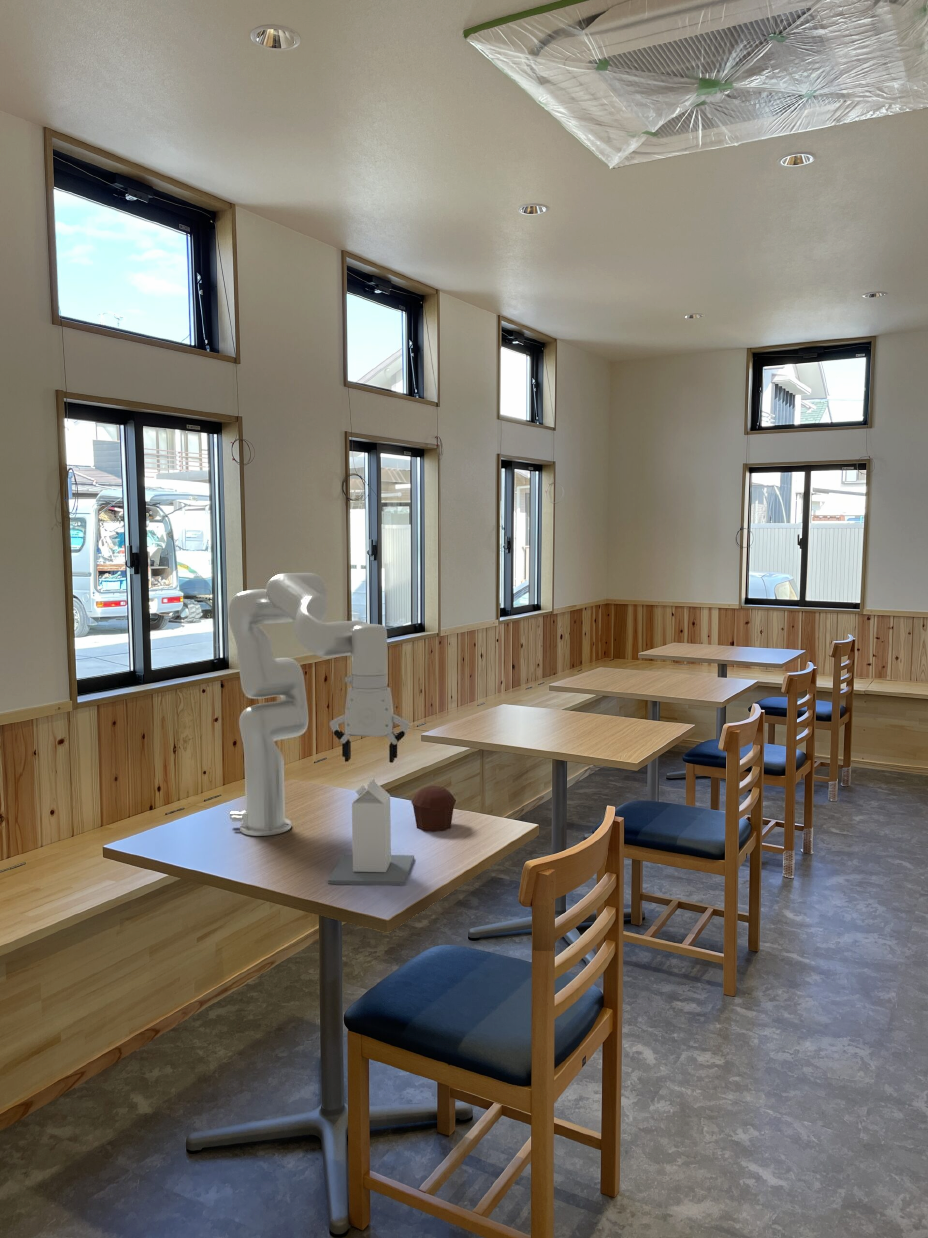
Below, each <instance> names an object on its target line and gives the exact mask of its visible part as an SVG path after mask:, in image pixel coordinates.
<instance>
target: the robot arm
mask: <svg viewBox="0 0 928 1238" xmlns="http://www.w3.org/2000/svg"><path fill="white" fill-rule="evenodd" d="M327 591H328V590H327V585H326V583H325V581H324V579H323V578H322V577H321V576H320V575H318V574H316V573H314V572H288V573H287V572H285V573H279V574H276V575H275V576H273V577H272V578H270V579H269V580H268V581H267V584H266V586H265V589H264V588H263V589H261V588H259V589H248V590H244V591H241V592H238V593H236V594H235V595H234V596H233V597H232V599H231V600H230V603H229V604H228V611H227V613H228V615H227V617H228V622H229V626H230V629H231V633H232V636H233V637H234V641H235V646H236V650H237V651H236V652H237V661H238V668H239V669H238V670H239V678H240V685H241V689H242V692H243V694H244V695H245V697H247V698H248V699H264V698H272V697H280V701H278V700H277V701H271V702H270V701H269V702H263V703H258V704H254V705H251V706H249V707H246V708H245V709H243V711H242V712H241V713H240V716H239V720H238V724H239V726H238V727H239V730H240V731H239V732H240V735H241V740H242V747H243V755H244V756H243V759H244V783H245V784H244V785H245V786H244V787H245V788H244V790H245V791H244V792H245V794H244V795H245V810H242V811H240V812H239V811H230V814H229V819H230V820H231V822H240V823H241V824H240V825H239V831H240V832H241V833H242V834H244V835H248V836H253V837H254V836H255V837H266V836H274V835H278V834H282V833H283V834H284V833H286V832H288V831H289V830H290V829H291V828H292V821H291V820H290V819H288V818H286V815H285V814H286V812H285V811H286V809H285V808H286V807H285V767H284V766H285V765H284V763H285V762H284V756H283V754H282V752H281V751H280V749H279V748H278V746H277V745H276V742H277V741H279V740H284V739H290V738H294V737H295V738H296V737H299V736H301V735H303V734H304V733H305V732H306V731H307V729H308V725H309V709H308V701H307V692H306V684H305V677H304V673H303V669H302V667H301V665H300V664H299V663H298V661H296V660H295V659H294V658H290V657H278V658H275V657H274V654H273V645H272V641H271V638H270V637H269V635H268V634H267V632H266V631H265V630H264V628H262V626H260V625H262V624H277V623H278V624H279V623H290V622H293V627H294V632H295V635H296V638H297V641H298V642H299V643H300V644H301V645H302V646H303V647H304V648H305V649H306V650H308V651H309V652H310V653H312V654H313V655H315V656H317V657H320V658H335V657H345V656H351V674H350V675H348V676H345V677H344V682H345V683H348V684H349V685H350V687H349V688H348V689H347V693H346V700H345V707H344V708H345V710H344V711H345V713H344V714H343V715H341V716H338V717H336V718H334V719H333V720H331V721H330V722H329V727H330V729H331V730H332V733H333V735H334V736H335V737H336V738H337V739H338V740H339V741H340V743H341V744H342V745H341V748H342V749H341V750H342V753H341V757H342V758H344V762H345V763H346V762H347V763H348V762H350V760H351V756H352V753H351V752H352V750H351V749H352V745H351V744H352V742H351V740H350V738H351V736H352V737H386V738H387V739H388V740H389V741H390V743H389V746H388V747H389V750H388V751H389V752H388V755H389V758H388V762H389V763H391V764H392V763H394V761H395V759H397V758H398V743H399V742H400V740H401V739H403V738H404V737H405V735H406V734H407V732H408V730H409V728H410V726H411V723H410V722H409V721H408V720H405V719H403V718H401V717H400V716H398V715H396V714H394V705H393V697H392V691H391V690H392V689H391V688H390V687H388V631H387V628H386V626H384V625H382V624H378V623H377V624H376V623H368V622H366V621H363V620H347V621H345V620H343V621H341V620H340V621H332V622H331V621H330V622H323V621H324V619H325V618H326V616H327V614H328V602H327V600H326V598H327V594H328V593H327ZM341 723H344V732H343V731H342V730H341V729H340V728H339V724H341ZM395 724H396V725H397V726H398V725H399V726H400V727H401V729H400V731H399V732H398V733H396V732H395V731H394V728H395V726H394V725H395Z"/></svg>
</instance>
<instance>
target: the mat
mask: <svg viewBox="0 0 928 1238" xmlns="http://www.w3.org/2000/svg"><path fill="white" fill-rule="evenodd" d="M414 860H415V854H413V855H411V854H410V855H409V854H404V855H403V854H391V863H390V865H389V867H388V869H387V871H386V872H353V853H352V854H350V853H347V854H346V853H344V854H342V857H341V858H340V859H339V861H338V863H337V865H336V867H334V870H333V871H332V873H331V874H330V876H329V878H328V879H327V884H328V885H368V886H369V885H371V886H373V885H374V886H376V885H377V886H405V885H406V881H407V878H408V877H409V874H410V871H411V868H412V865H413V863H414Z"/></svg>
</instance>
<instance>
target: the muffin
mask: <svg viewBox="0 0 928 1238" xmlns="http://www.w3.org/2000/svg"><path fill="white" fill-rule="evenodd" d="M410 802H411V805H412V806H413V813H414V818H415V825H416V829H417V830H420V831H422V832H430V833H436V832H437V833H438V832H445V831H447V830H450V829H451V828H452V821H453V815H454V814H453V813H454V806H455V805H456V803H457V799H456V798H455V796H454V795H453V794H452V793H451V792H450V791H449V790H448V789H446V788H445V787H444V786H441V785H427V786H425V787H423V788H421V789H419V790H418V791H417V792H416V794H415V795H414V797H413V798H412V799H411V801H410Z"/></svg>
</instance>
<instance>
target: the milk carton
mask: <svg viewBox="0 0 928 1238" xmlns="http://www.w3.org/2000/svg"><path fill="white" fill-rule="evenodd" d="M355 793H356V794H357V796H356V798H355V799H354V800H353V802H352V803H351V824H352V825H351V829H352V834H351V835H352V840H351V841H352V854H353V872H386V871H387V869H388V867H389V865H390V863H391V855H392V844H391V843H392V838H391V837H392V835H391V834H392V833H391V828H392V827H391V794H389V792H387V791H386V789H384V788H382V787H381V786H380V785H379V784H378V783H377V782H375V776H374V777H373V776H372V779H371V780H370V781H369V782H368V784H367V786H366V787H365V786H364V785H361V786H359V788H357V789H356V791H355Z"/></svg>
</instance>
